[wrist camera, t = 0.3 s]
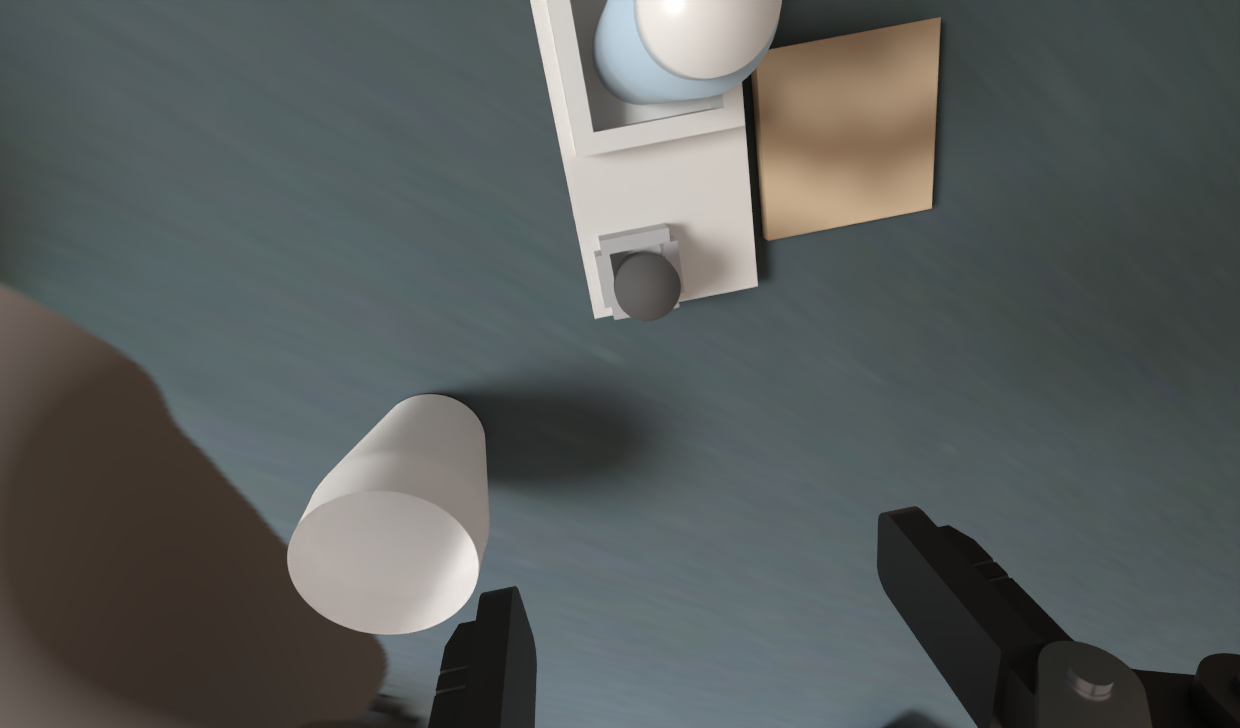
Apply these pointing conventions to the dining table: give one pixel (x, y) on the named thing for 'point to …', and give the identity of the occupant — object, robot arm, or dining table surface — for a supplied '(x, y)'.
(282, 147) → the dining table surface
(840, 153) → the coaster
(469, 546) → the cup
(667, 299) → the plunger
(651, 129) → the housing
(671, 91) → the bottle
